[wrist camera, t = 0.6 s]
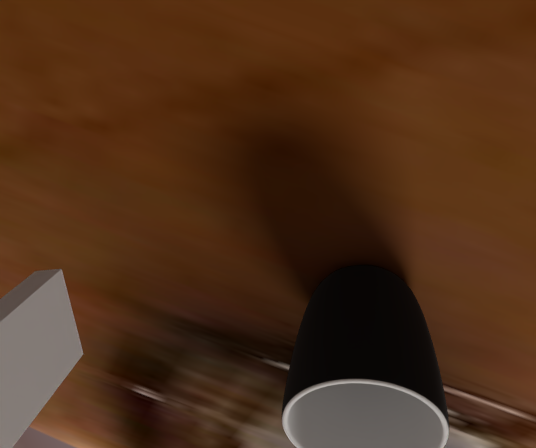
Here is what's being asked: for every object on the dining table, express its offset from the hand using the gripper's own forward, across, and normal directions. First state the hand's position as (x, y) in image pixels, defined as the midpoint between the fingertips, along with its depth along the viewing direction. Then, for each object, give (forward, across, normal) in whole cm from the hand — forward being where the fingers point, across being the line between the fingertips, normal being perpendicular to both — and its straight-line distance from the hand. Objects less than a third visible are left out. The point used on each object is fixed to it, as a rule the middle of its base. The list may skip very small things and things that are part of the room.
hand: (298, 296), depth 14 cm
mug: (+20, +4, -11) cm, 24 cm away
